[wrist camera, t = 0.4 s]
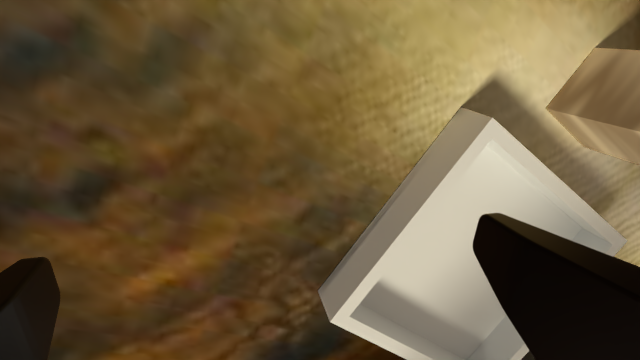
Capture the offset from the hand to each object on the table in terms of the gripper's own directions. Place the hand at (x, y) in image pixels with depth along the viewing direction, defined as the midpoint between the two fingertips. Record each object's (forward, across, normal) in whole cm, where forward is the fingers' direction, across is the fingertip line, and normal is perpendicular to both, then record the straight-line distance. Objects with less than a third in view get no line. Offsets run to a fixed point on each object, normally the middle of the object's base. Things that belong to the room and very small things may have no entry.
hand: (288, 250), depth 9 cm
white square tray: (+12, -14, +11) cm, 22 cm away
